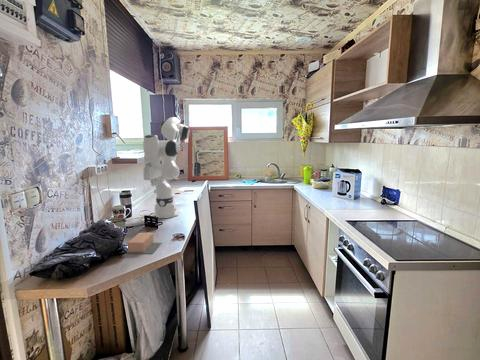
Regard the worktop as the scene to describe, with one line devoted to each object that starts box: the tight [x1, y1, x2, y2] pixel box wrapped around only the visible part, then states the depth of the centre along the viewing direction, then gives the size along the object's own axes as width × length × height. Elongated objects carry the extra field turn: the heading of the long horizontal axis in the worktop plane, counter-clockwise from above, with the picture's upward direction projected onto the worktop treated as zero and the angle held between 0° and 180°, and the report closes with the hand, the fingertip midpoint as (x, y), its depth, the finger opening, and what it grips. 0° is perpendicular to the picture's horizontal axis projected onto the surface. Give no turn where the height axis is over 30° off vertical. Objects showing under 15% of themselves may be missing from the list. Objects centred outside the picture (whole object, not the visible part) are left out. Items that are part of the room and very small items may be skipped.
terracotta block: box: [127, 232, 155, 252], centre depth 137 cm, size 5×8×14 cm
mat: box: [124, 242, 163, 255], centre depth 136 cm, size 14×18×1 cm
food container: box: [107, 217, 127, 229], centre depth 153 cm, size 12×6×10 cm, turn 141°
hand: (153, 185), depth 155 cm, fingers closed
